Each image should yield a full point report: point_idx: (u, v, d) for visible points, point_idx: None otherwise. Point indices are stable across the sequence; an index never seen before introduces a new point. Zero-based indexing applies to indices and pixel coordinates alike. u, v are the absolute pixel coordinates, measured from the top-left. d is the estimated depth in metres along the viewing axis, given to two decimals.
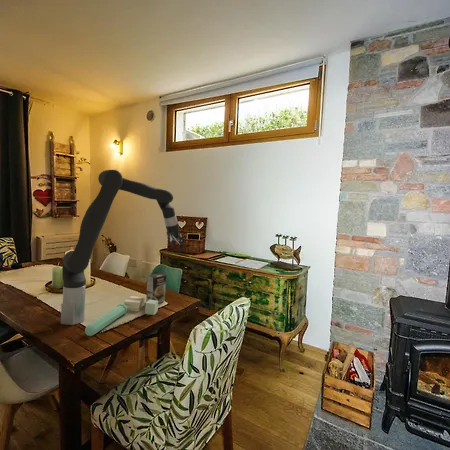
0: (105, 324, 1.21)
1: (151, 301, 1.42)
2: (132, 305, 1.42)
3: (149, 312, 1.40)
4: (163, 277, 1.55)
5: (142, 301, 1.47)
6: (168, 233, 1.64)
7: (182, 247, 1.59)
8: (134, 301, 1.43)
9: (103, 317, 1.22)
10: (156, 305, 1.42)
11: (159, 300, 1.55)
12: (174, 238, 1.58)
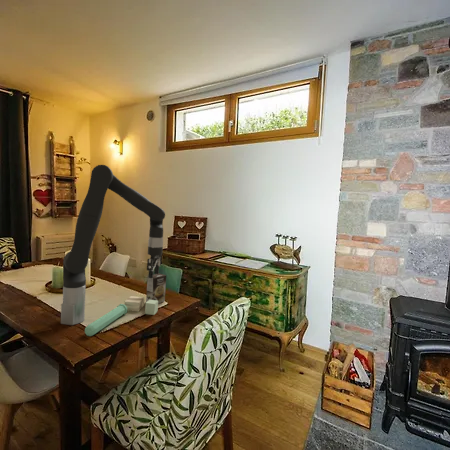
0: (105, 324, 1.21)
1: (151, 301, 1.42)
2: (133, 305, 1.42)
3: (149, 312, 1.40)
4: (163, 277, 1.55)
5: (142, 301, 1.47)
6: None
7: None
8: (134, 301, 1.43)
9: (103, 317, 1.22)
10: (156, 305, 1.42)
11: (159, 300, 1.55)
12: None
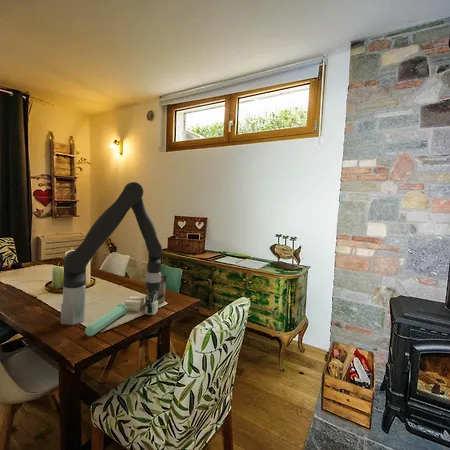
0: (105, 324, 1.21)
1: None
2: (133, 305, 1.42)
3: None
4: (163, 277, 1.55)
5: (142, 301, 1.47)
6: None
7: None
8: (135, 301, 1.43)
9: (103, 317, 1.22)
10: (156, 305, 1.42)
11: (159, 300, 1.55)
12: None
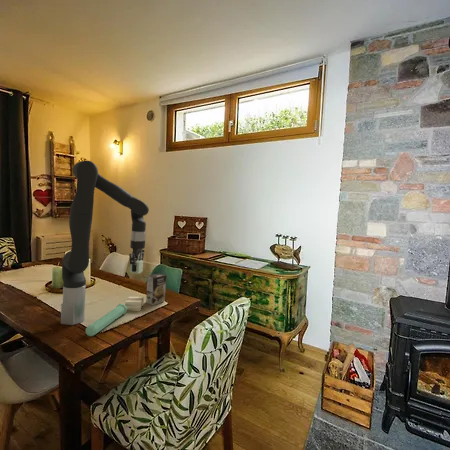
0: (105, 324, 1.21)
1: None
2: (134, 305, 1.42)
3: None
4: (163, 277, 1.55)
5: (142, 300, 1.47)
6: None
7: (133, 269, 1.41)
8: (135, 301, 1.43)
9: (103, 317, 1.22)
10: (141, 264, 1.44)
11: (159, 300, 1.55)
12: None
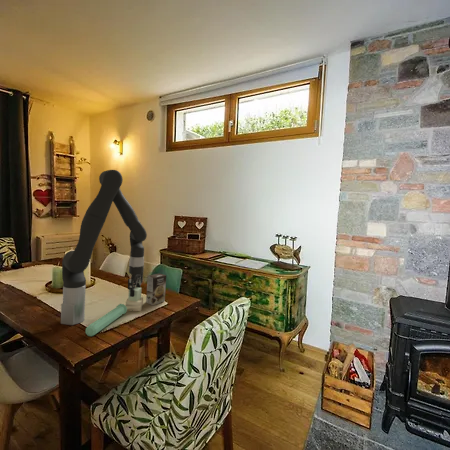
0: (105, 324, 1.21)
1: None
2: (134, 305, 1.42)
3: (132, 299, 1.43)
4: (163, 277, 1.55)
5: (142, 300, 1.48)
6: None
7: (131, 294, 1.41)
8: None
9: (103, 317, 1.22)
10: (139, 292, 1.45)
11: (159, 300, 1.55)
12: None
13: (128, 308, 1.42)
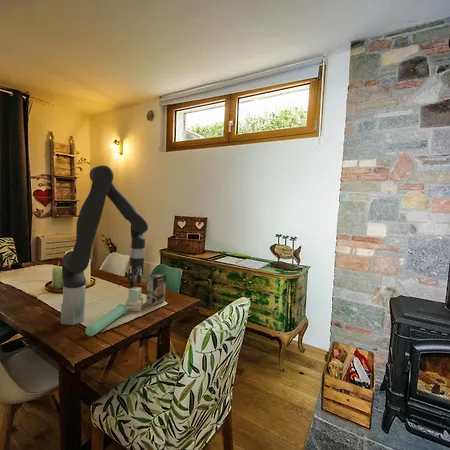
0: (105, 324, 1.21)
1: (134, 288, 1.45)
2: (134, 305, 1.42)
3: (132, 299, 1.43)
4: (163, 277, 1.55)
5: (142, 300, 1.48)
6: None
7: (131, 285, 1.40)
8: None
9: (103, 317, 1.22)
10: (139, 292, 1.45)
11: (159, 300, 1.55)
12: None
13: (128, 308, 1.42)
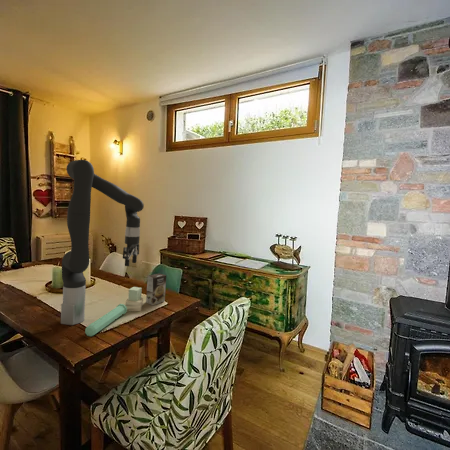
0: (105, 324, 1.21)
1: (134, 288, 1.46)
2: (134, 305, 1.42)
3: (132, 298, 1.43)
4: (163, 277, 1.55)
5: (142, 300, 1.48)
6: None
7: None
8: (135, 301, 1.43)
9: (103, 317, 1.22)
10: (139, 292, 1.45)
11: (159, 300, 1.55)
12: None
13: (128, 308, 1.41)
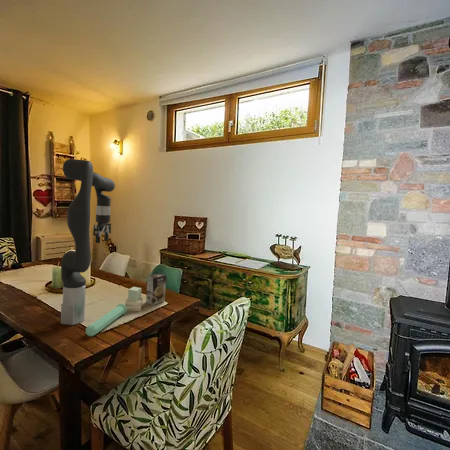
0: (105, 324, 1.21)
1: (134, 288, 1.46)
2: (134, 305, 1.42)
3: (131, 299, 1.43)
4: (163, 277, 1.55)
5: None
6: None
7: None
8: None
9: (103, 317, 1.22)
10: (139, 292, 1.45)
11: (159, 300, 1.55)
12: None
13: (128, 308, 1.41)
